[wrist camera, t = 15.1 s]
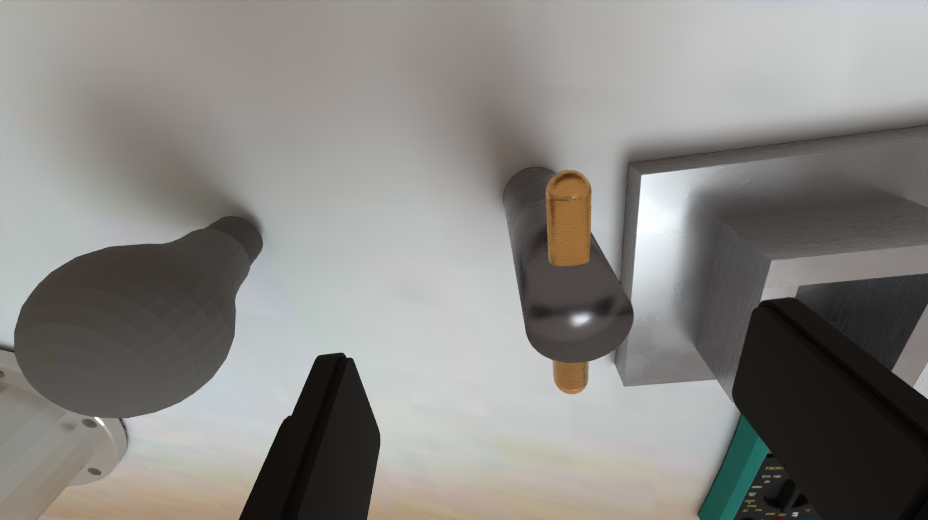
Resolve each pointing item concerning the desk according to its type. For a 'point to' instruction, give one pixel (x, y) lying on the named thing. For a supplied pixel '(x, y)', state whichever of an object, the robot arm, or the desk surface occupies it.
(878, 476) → the robot arm
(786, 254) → the block
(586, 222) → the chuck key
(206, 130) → the desk surface
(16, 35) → the desk surface
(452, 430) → the desk surface
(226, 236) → the light bulb
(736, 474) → the digital multimeter
